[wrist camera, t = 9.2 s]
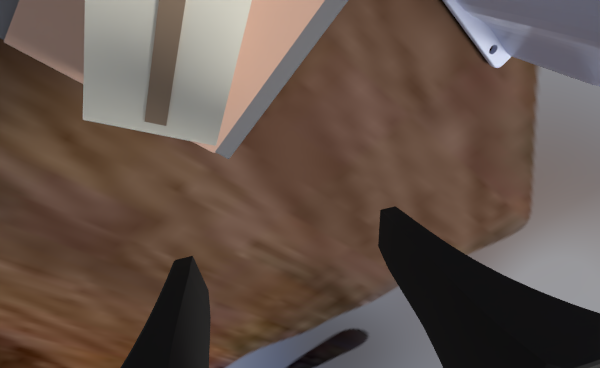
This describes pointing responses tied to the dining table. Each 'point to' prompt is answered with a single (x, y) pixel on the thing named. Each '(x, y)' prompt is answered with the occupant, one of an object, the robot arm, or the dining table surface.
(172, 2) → the card box
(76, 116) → the dining table surface
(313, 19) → the mat
